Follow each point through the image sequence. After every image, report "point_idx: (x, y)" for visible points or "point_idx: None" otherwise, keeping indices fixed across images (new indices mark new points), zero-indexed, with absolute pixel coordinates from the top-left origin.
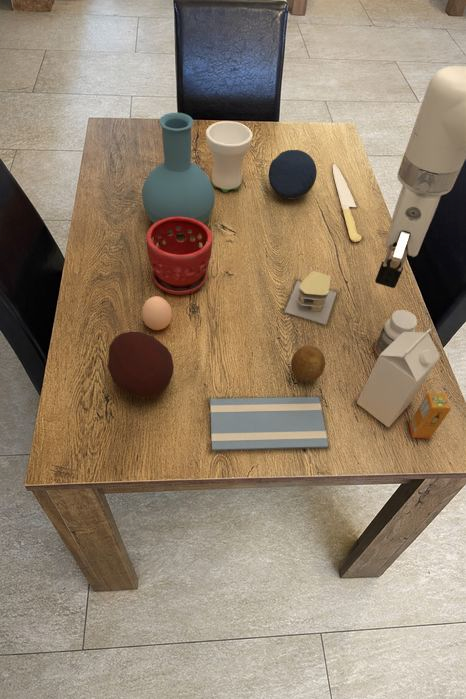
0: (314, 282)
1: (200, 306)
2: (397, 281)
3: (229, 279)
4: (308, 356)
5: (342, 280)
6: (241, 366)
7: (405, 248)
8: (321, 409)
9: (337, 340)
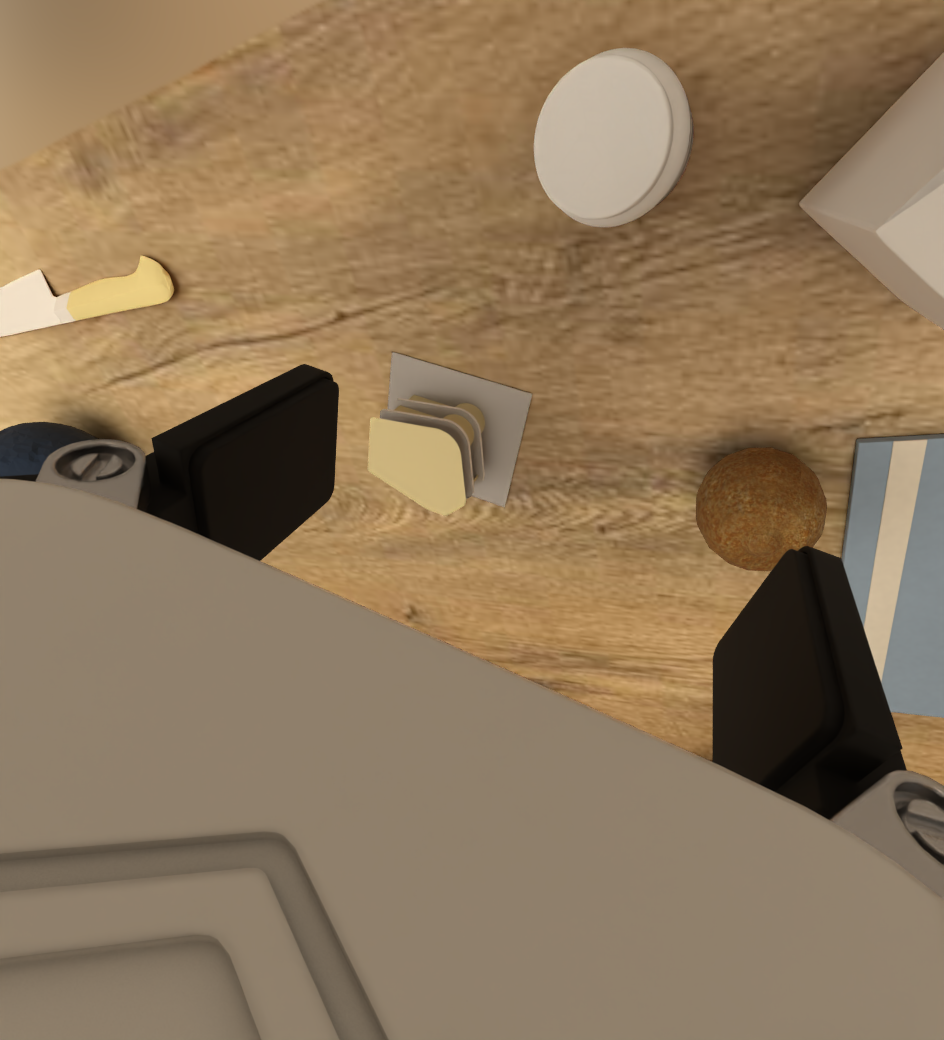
0: (413, 470)
1: (523, 676)
2: (853, 606)
3: (427, 614)
4: (779, 552)
5: (338, 328)
6: (709, 623)
7: (329, 386)
8: (924, 441)
9: (593, 359)
